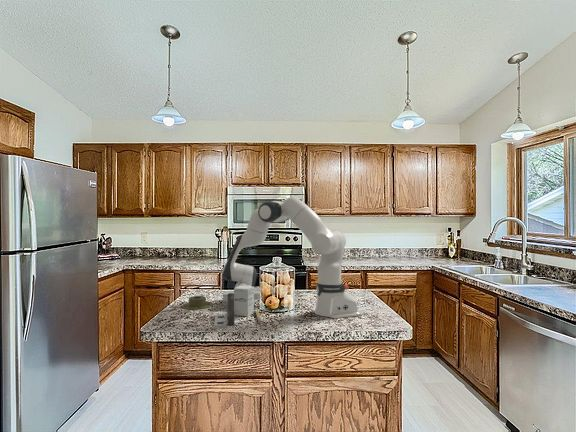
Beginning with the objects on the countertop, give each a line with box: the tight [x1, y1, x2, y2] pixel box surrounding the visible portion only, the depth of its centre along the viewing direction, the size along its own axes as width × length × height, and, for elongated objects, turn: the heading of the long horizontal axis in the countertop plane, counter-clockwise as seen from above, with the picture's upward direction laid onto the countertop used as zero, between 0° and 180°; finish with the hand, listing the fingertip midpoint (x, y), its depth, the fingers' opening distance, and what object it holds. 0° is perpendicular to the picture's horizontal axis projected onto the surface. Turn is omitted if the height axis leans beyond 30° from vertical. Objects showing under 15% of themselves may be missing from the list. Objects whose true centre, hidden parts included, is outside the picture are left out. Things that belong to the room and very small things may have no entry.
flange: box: [181, 295, 213, 311], centre depth 183 cm, size 5×15×15 cm
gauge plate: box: [213, 314, 228, 329], centre depth 155 cm, size 5×16×1 cm, turn 9°
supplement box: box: [233, 286, 255, 317], centre depth 167 cm, size 7×7×13 cm
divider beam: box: [227, 293, 262, 327], centre depth 161 cm, size 14×21×13 cm, turn 9°
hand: (243, 299), depth 172 cm, fingers closed
